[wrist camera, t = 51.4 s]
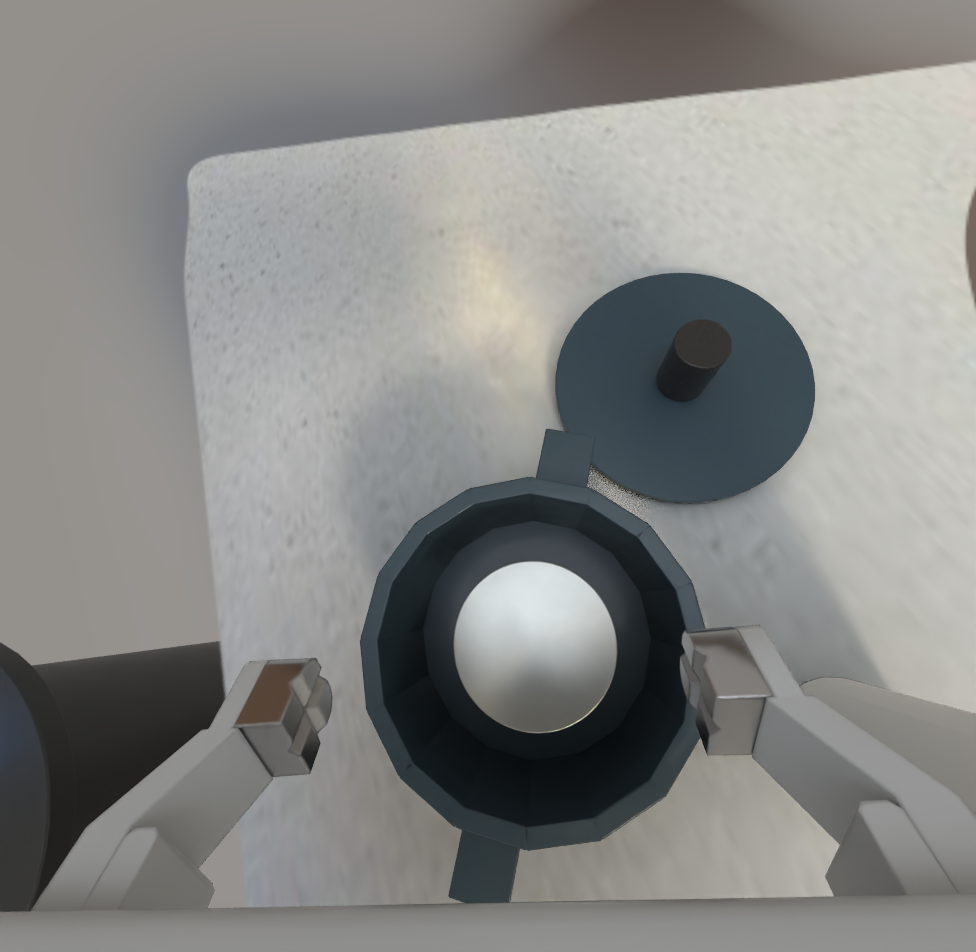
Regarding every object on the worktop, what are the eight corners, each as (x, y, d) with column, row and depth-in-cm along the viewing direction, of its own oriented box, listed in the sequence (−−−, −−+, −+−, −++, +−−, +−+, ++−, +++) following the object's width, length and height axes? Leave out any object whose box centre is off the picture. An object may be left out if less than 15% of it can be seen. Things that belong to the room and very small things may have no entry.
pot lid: (534, 479, 31) (531, 453, 25) (577, 271, 34) (583, 209, 29) (795, 528, 28) (855, 512, 23) (814, 297, 31) (870, 235, 26)
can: (469, 673, 28) (433, 707, 19) (495, 559, 29) (473, 543, 20) (584, 705, 27) (602, 757, 18) (606, 585, 28) (632, 580, 19)
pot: (374, 780, 27) (300, 857, 19) (456, 452, 32) (424, 402, 24) (632, 862, 25) (674, 990, 17) (683, 495, 29) (736, 455, 21)
